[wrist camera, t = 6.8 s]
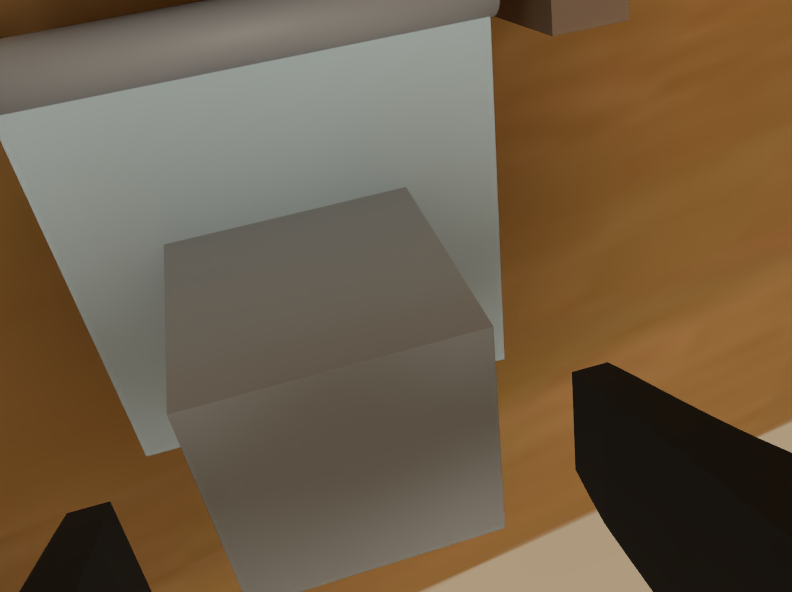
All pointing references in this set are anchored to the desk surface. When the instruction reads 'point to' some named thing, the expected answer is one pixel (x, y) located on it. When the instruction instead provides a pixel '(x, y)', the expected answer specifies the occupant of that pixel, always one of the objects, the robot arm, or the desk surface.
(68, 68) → the flap
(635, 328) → the desk surface
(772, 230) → the desk surface
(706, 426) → the robot arm
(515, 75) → the desk surface
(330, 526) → the grey cube
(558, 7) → the frame
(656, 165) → the desk surface
